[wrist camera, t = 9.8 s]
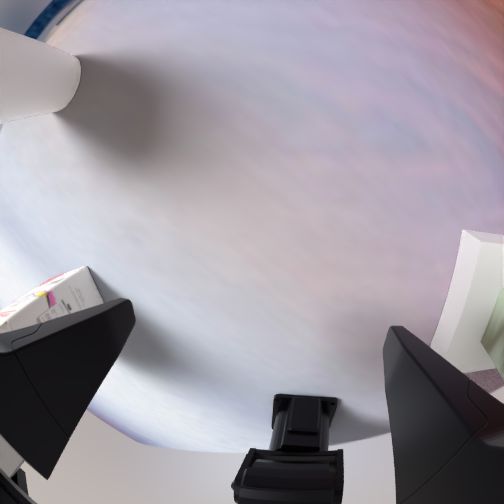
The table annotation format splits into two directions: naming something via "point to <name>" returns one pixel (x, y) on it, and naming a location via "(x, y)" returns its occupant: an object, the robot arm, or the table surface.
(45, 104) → the foam cup
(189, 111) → the table surface
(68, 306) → the ink cartridge box
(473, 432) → the robot arm
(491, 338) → the sage cube
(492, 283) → the white block
